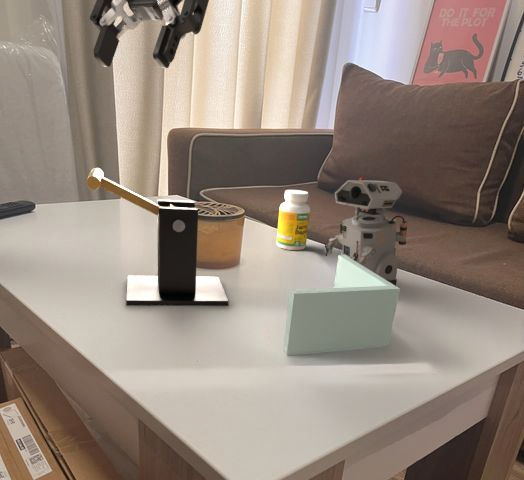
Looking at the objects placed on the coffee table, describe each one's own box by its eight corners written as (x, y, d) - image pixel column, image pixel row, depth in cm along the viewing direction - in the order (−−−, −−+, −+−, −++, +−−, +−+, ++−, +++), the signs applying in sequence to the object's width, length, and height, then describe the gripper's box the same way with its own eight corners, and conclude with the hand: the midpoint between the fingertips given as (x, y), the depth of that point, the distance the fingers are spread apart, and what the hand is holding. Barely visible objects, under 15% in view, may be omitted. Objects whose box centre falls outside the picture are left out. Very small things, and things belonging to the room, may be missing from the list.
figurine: (306, 277, 79) (319, 173, 72) (362, 269, 85) (380, 173, 78) (345, 297, 72) (364, 185, 66) (403, 288, 78) (426, 184, 72)
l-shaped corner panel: (335, 311, 67) (344, 254, 64) (386, 353, 57) (400, 288, 54) (247, 316, 63) (252, 256, 60) (285, 363, 53) (294, 293, 50)
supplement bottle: (287, 240, 97) (292, 187, 93) (311, 247, 95) (318, 193, 90) (269, 245, 93) (275, 190, 89) (294, 252, 91) (301, 195, 86)
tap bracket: (126, 312, 61) (123, 210, 56) (127, 286, 69) (125, 194, 64) (227, 312, 64) (234, 215, 59) (218, 287, 72) (222, 199, 67)
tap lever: (82, 190, 56) (91, 169, 55) (87, 180, 61) (95, 161, 60) (185, 240, 60) (194, 222, 60) (181, 227, 66) (190, 210, 65)
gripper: (106, -88, 60) (60, 39, 59) (210, -103, 54) (162, 37, 53) (143, -32, 67) (103, 83, 66) (239, -40, 61) (198, 86, 60)
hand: (129, 62), depth 59 cm, fingers open, 8 cm apart
